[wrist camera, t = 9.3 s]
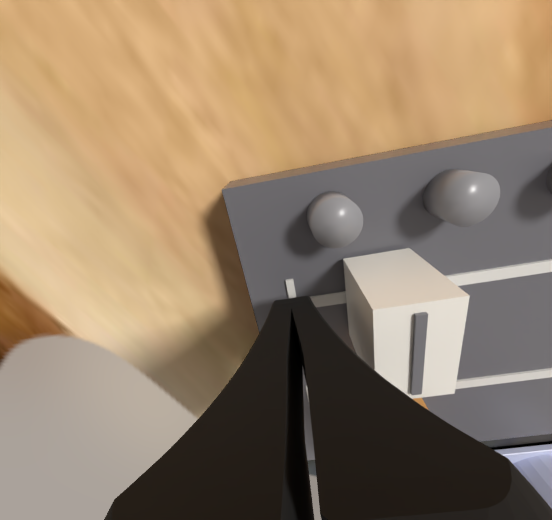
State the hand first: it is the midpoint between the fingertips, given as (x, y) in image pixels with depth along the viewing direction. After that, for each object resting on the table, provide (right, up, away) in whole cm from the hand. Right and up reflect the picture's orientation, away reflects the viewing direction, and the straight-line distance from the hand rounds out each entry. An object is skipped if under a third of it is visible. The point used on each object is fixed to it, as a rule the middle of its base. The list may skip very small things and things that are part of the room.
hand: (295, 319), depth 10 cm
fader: (+3, +1, 0) cm, 3 cm away
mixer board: (+8, 0, +3) cm, 9 cm away
